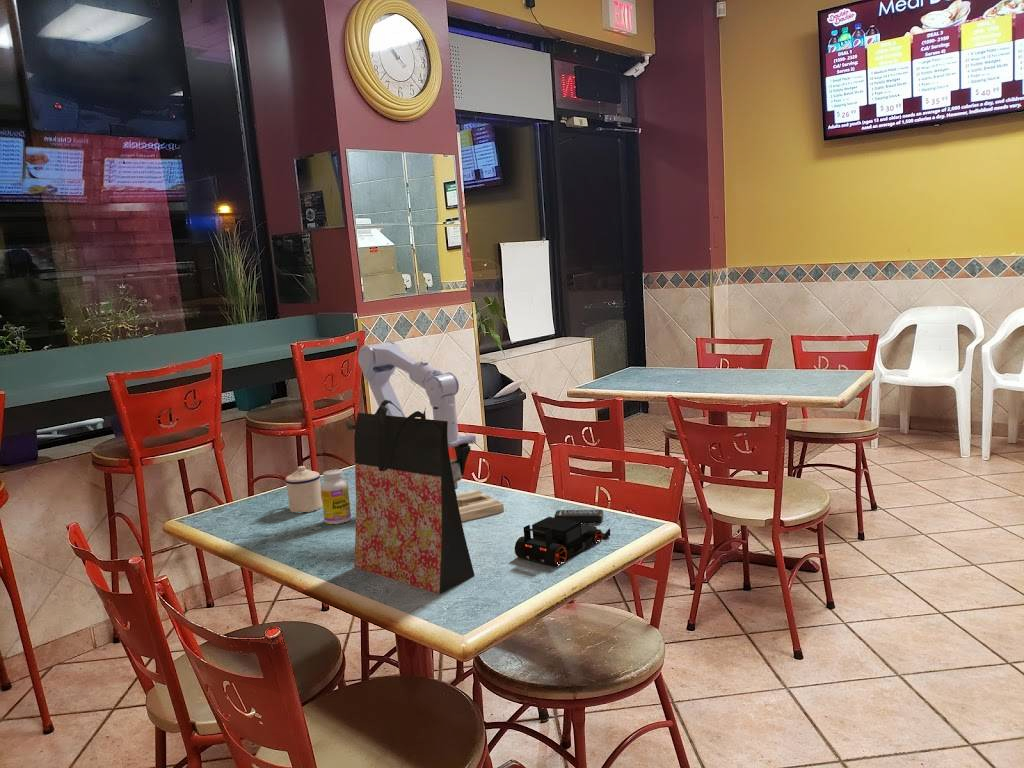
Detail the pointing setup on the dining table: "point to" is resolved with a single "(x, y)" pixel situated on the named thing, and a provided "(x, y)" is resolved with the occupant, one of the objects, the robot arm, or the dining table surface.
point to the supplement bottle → (335, 497)
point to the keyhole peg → (456, 471)
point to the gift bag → (407, 502)
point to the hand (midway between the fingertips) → (450, 476)
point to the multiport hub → (580, 515)
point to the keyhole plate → (477, 505)
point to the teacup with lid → (304, 490)
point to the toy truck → (556, 540)
